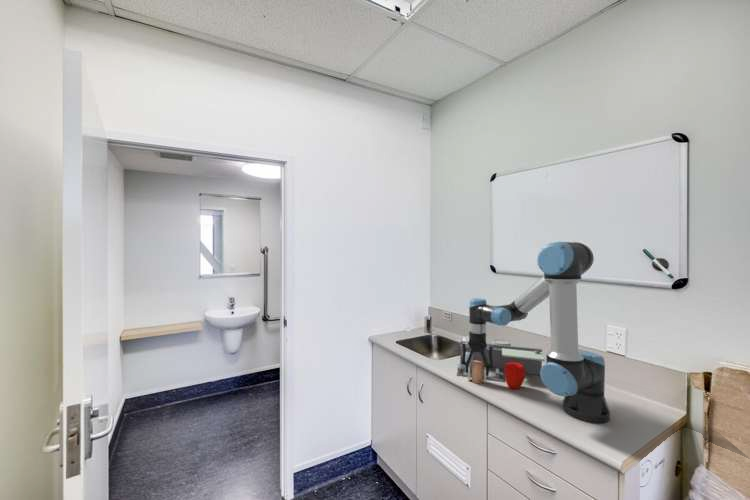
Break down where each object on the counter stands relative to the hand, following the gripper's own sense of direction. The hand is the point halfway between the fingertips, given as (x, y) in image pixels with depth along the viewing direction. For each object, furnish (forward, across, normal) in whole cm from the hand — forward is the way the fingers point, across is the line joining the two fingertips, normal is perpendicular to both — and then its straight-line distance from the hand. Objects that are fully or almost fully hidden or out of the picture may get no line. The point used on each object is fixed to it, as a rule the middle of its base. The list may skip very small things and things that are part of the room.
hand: (477, 380), depth 152 cm
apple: (0, -16, +1) cm, 16 cm away
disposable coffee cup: (+1, -11, -29) cm, 31 cm away
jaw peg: (0, 0, 0) cm, 0 cm away
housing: (0, -10, -12) cm, 16 cm away
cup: (+1, +4, -38) cm, 38 cm away
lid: (-11, -20, -12) cm, 26 cm away
